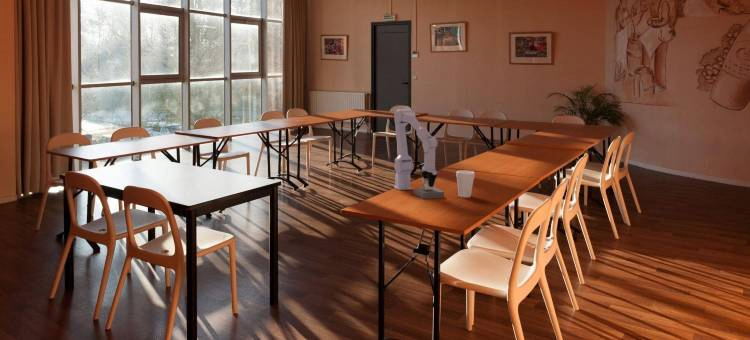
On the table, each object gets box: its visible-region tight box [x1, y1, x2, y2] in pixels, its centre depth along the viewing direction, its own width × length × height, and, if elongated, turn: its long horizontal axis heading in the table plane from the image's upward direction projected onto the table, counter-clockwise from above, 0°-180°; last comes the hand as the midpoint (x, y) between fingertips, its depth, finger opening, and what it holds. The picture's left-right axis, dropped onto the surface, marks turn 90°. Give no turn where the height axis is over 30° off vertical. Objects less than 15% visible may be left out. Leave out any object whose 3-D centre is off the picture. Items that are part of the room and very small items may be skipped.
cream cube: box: [421, 178, 436, 190], centre depth 351 cm, size 5×5×5 cm
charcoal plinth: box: [413, 187, 445, 200], centre depth 352 cm, size 12×12×3 cm
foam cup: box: [455, 169, 475, 198], centre depth 351 cm, size 10×9×13 cm
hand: (428, 185), depth 351 cm, fingers closed on cream cube, 5 cm apart
